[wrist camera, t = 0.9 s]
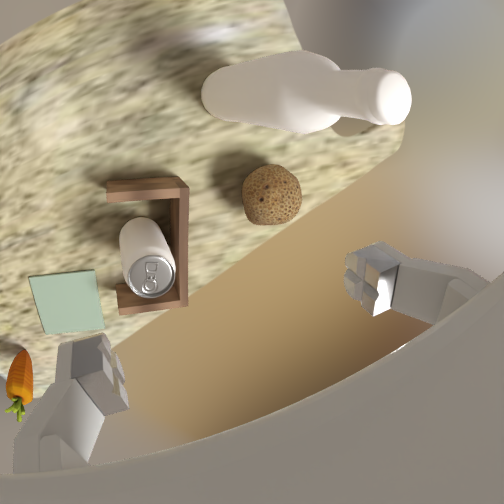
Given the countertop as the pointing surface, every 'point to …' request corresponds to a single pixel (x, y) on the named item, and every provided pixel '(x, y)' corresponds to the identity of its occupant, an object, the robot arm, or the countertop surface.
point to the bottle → (304, 93)
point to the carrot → (20, 383)
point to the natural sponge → (271, 195)
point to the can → (146, 258)
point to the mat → (68, 301)
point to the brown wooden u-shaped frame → (178, 239)
